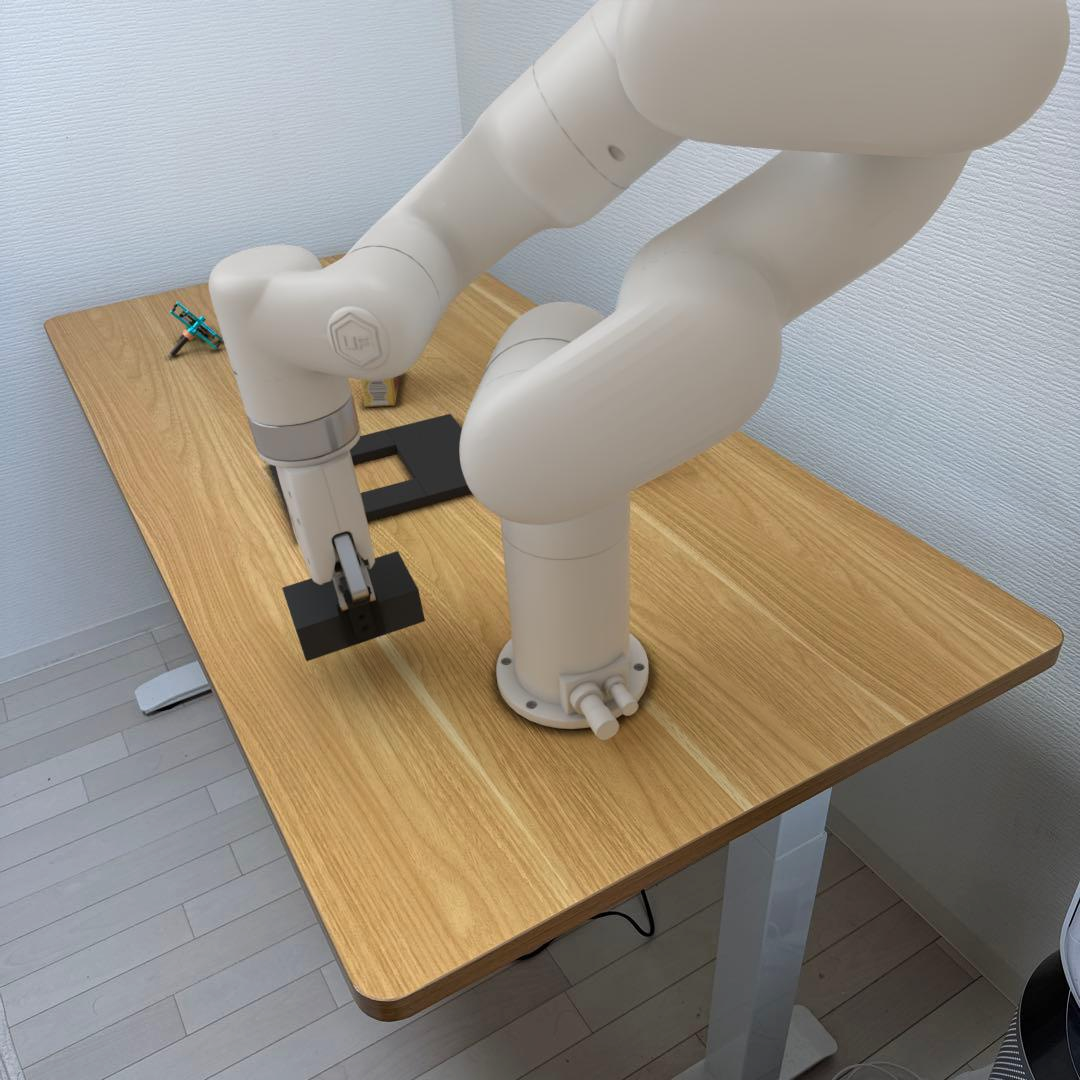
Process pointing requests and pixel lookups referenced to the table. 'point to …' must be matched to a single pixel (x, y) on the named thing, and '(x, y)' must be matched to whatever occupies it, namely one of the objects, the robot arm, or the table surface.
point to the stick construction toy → (192, 329)
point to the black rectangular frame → (411, 466)
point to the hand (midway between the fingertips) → (355, 612)
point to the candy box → (380, 392)
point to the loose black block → (318, 603)
